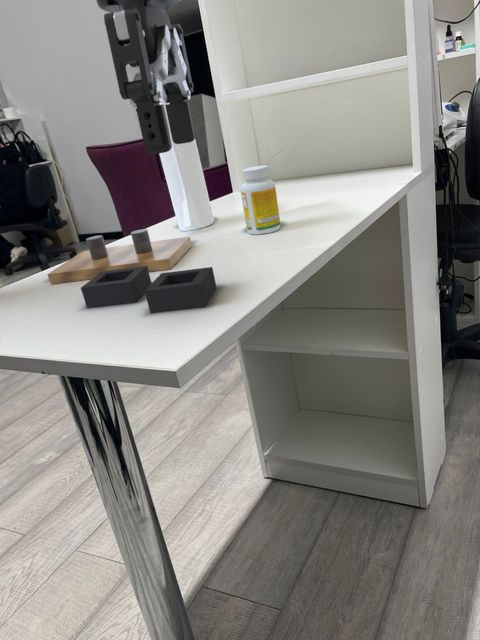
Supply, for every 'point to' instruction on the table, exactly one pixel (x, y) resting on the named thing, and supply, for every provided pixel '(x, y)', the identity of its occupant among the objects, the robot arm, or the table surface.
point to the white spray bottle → (186, 184)
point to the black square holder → (181, 290)
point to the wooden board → (121, 257)
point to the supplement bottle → (259, 201)
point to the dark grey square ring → (116, 287)
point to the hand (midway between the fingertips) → (173, 147)
